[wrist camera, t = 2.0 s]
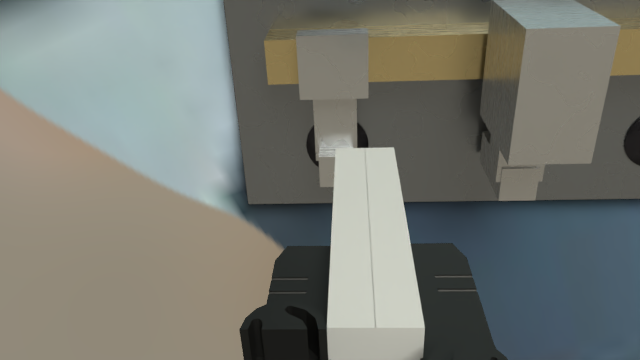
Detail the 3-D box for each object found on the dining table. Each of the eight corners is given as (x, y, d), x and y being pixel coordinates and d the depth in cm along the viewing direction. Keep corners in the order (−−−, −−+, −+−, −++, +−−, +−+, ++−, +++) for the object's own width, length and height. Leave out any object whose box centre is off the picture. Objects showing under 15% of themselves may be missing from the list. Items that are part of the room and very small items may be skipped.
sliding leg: (480, -11, 24) (526, 28, 18) (550, -13, 24) (620, 25, 18) (464, 158, 28) (497, 238, 22) (524, 157, 28) (575, 237, 22)
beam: (268, 20, 26) (259, 37, 23) (836, 1, 24) (896, 17, 22) (280, 159, 29) (274, 187, 26) (778, 150, 28) (823, 179, 25)
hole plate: (224, -29, 26) (219, -25, 25) (862, -54, 24) (884, -51, 23) (251, 194, 31) (248, 205, 30) (767, 187, 30) (781, 197, 29)
